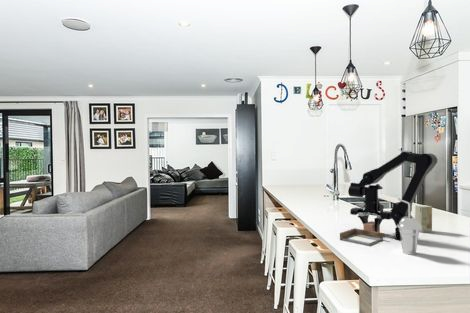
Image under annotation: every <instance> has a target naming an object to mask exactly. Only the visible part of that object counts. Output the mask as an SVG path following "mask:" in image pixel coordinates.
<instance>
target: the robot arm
mask: <svg viewBox="0 0 470 313" xmlns="http://www.w3.org/2000/svg"><path fill="white" fill-rule="evenodd" d="M406 162H408V163H412V164H415V165H414V173H413V175H412V177H411V180H410V181H409V183H408V186H407V188H406V190H405V192H404V194H403V196H402V198H401V199H402V200H404V201H407V202H409V203H410V216H411V217H413V216H412V209H413V208H412V207H413V203H414V201H415V199H416V197H417V195H418V193H419V191H420V189H421V187H422V185H423V183H424V181H425V178H426V177H427V176H428V175H429V173H431V171H432V170H433V169H434V168H435V166H436V165H437V164H438V157H437V156H436V155H435V154H433V153H415V152H410V151H402V152H400V154H398V155H396V156H395V157H393V158H391V159H390V160H388V161H387V162H385V163H384V164H382V165H381V166H379V167H377V168H373V169H371V170H368V171H366V172H364V173H363V175H362V178H361V179H360V181H359V182H357V183H356V182H350V185H349V187H348V191H347V193H348V195H349V196H350V197H351V198H352V197H353V198H354V197H355V198H363V197H364V200H363V203H364V207H352V208H351V209H350V210H349V211H350V212H349V215H353V216H357V217H358V218H359V220H360V221H361V222H362V225H363V224H364V223H367V222H369V217H370V216H375V218H374V222H375V232H377V231H378V229H379V226H381V223H382V222H383V220H393V222H394V225H395V237H394V239H395V240H398V241H401V237H400V232H399V228H398V227H397V224H398V223H399V221H400V219H401V218H403V217H405V216H408V204H407V203H405V202H402V201H398V202H394V203H393V204H392V208H391V209H390V210H384V208H385V206H384V205H383V204H382V203H381V202H380V200H379V190H382V189H383V188H384V187H383V186H381V185H380V184H379V182H380V181H381V180H383V178H384V177H385V176H386V175H387V174H388V173H390V172H392V171H393V170H395V169H396V168H398V167H400V166H401V165H403V164H406ZM374 184H375V185H374Z"/></svg>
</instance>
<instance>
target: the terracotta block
mask: <svg viewBox="0 0 470 313" xmlns="http://www.w3.org/2000/svg"><path fill="white" fill-rule="evenodd" d="M362 225H363V230H368V231H373V232H375V221H373V220H371V221H368V222H367V223H364V224H363V223H362ZM380 226H381V225H380ZM380 226H379V229H378V231H377V232H379V233H381V232H380V230H381V227H380Z"/></svg>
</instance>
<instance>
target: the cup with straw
mask: <svg viewBox="0 0 470 313" xmlns="http://www.w3.org/2000/svg"><path fill="white" fill-rule="evenodd" d="M397 201H398V202H400V201H402V202H405V203H407V204H408V216H405V217H403V218H401V219H400V221H399V223H398V224H397V226H396V228H397V227H398V228H399V232H400V237H401V240H400V242H401V243H400V244H401V250H402V253H403V254H405V255H413V256H414V255H416V254H417V249H418V240H419V234H420V232H419V230H420V229H422V227H421V225H419V222H418V221H417V219H415V216H412V215H411V216H412V217H411V216H410V203H409V202H407V201H404V200H402V198H397Z"/></svg>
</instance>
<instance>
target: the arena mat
mask: <svg viewBox="0 0 470 313" xmlns="http://www.w3.org/2000/svg"><path fill="white" fill-rule="evenodd" d="M341 241H343V242H348V243H353V244H357V245H362V246H367V247H370V246H373V245H374V244H377V243H379V242H382V241H383V240H382V239H381V238H375V237H370V236H365V235H359V234H354V235H351V236H348V237H346V238H343V239H342V240H341Z"/></svg>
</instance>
